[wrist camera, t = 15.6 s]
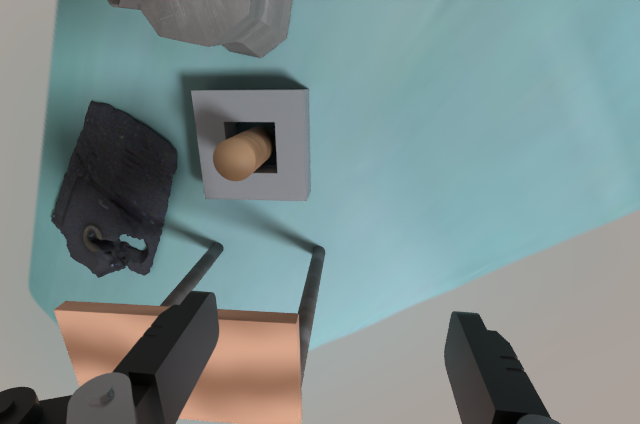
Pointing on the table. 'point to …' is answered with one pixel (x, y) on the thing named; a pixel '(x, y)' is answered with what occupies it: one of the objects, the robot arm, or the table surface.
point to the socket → (256, 106)
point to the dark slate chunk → (115, 192)
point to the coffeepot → (218, 22)
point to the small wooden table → (227, 358)
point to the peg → (244, 153)
